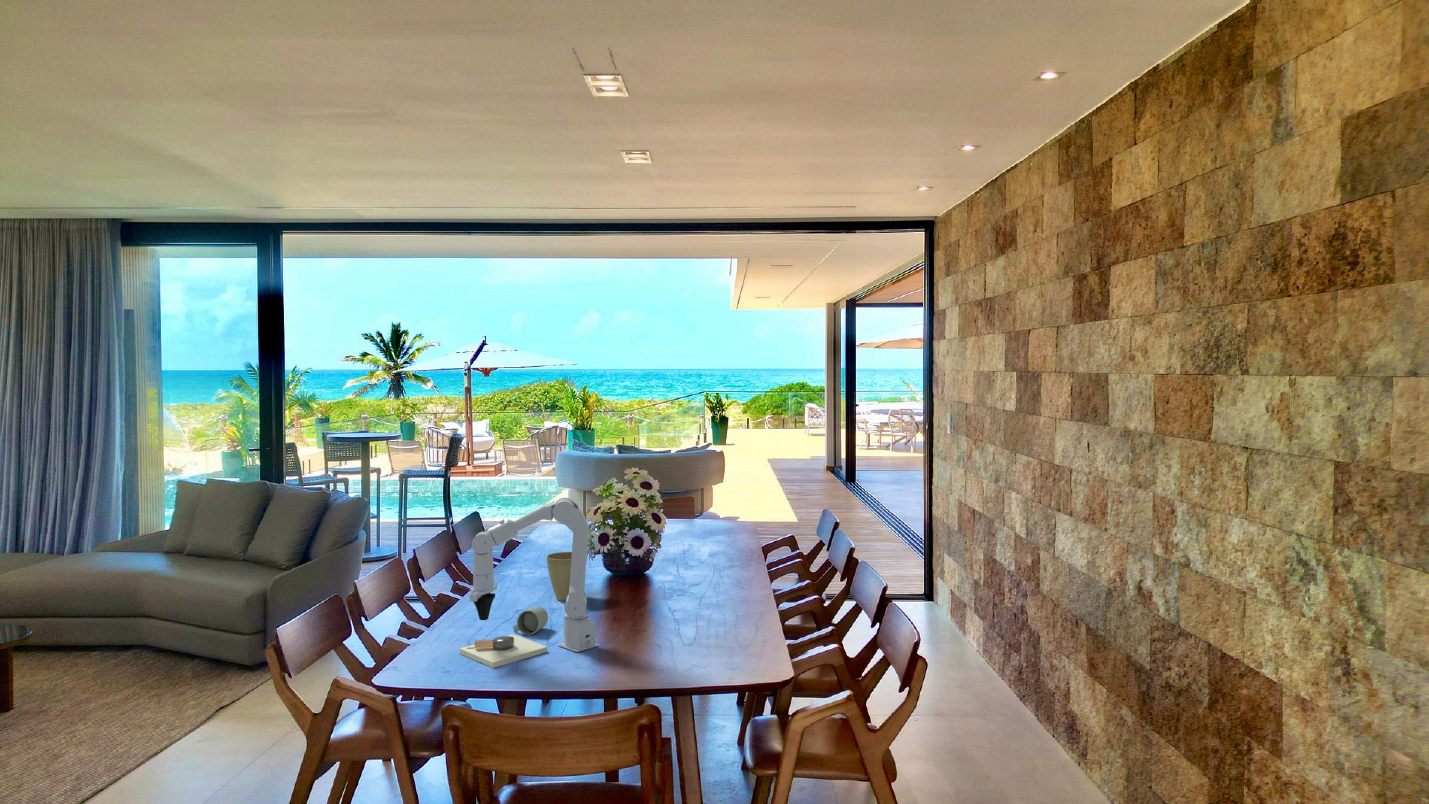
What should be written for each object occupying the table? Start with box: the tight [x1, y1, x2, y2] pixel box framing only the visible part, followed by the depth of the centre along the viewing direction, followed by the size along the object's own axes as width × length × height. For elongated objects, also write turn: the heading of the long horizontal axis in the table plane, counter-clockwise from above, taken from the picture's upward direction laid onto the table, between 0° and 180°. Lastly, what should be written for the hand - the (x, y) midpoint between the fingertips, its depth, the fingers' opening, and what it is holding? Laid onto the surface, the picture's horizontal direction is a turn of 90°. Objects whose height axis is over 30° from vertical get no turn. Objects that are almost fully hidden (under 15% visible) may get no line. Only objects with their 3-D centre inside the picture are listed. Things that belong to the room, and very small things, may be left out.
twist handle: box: [474, 635, 514, 650], centre depth 226 cm, size 11×6×2 cm, turn 99°
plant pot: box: [545, 551, 588, 602], centre depth 286 cm, size 15×15×16 cm
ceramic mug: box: [512, 606, 549, 636], centre depth 247 cm, size 11×8×8 cm
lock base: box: [458, 633, 548, 669], centre depth 226 cm, size 18×18×2 cm
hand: (483, 619), depth 228 cm, fingers closed
